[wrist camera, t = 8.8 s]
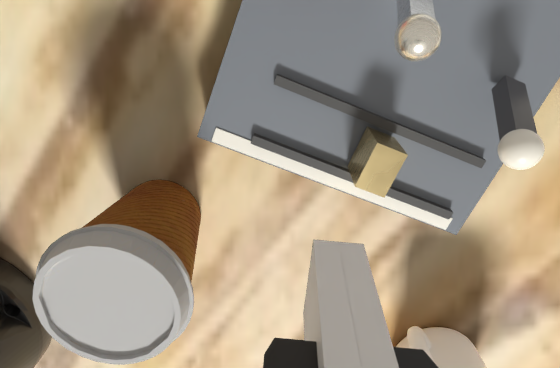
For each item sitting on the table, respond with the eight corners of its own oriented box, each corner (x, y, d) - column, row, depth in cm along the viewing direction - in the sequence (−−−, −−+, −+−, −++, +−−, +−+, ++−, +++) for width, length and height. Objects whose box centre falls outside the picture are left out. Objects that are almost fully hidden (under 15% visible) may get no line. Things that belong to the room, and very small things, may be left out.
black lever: (480, 92, 27) (490, 168, 23) (505, 66, 25) (521, 144, 21) (510, 105, 27) (525, 183, 23) (537, 80, 25) (558, 159, 22)
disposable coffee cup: (126, 141, 33) (44, 211, 22) (238, 190, 35) (213, 278, 24) (93, 236, 37) (8, 337, 26) (196, 277, 38) (158, 389, 27)
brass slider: (347, 165, 29) (354, 186, 26) (367, 126, 28) (377, 142, 25) (373, 176, 29) (384, 197, 26) (394, 137, 28) (408, 154, 25)
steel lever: (386, 1, 25) (385, 59, 20) (406, -36, 23) (410, 18, 19) (419, 16, 25) (425, 76, 21) (442, -19, 24) (453, 38, 19)
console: (207, 121, 32) (195, 139, 28) (286, -113, 26) (285, -134, 22) (438, 210, 35) (459, 239, 31) (558, 16, 29) (604, 18, 25)
